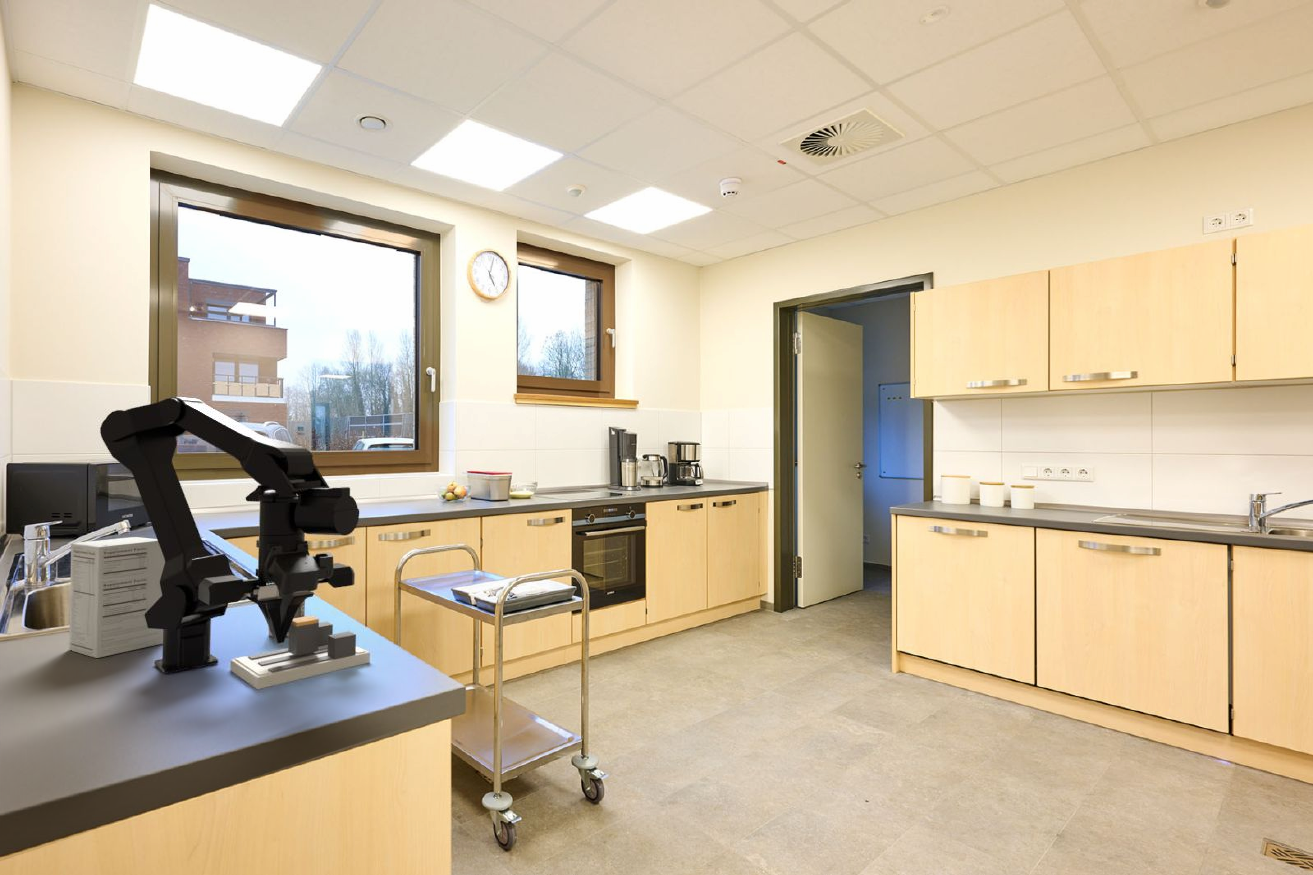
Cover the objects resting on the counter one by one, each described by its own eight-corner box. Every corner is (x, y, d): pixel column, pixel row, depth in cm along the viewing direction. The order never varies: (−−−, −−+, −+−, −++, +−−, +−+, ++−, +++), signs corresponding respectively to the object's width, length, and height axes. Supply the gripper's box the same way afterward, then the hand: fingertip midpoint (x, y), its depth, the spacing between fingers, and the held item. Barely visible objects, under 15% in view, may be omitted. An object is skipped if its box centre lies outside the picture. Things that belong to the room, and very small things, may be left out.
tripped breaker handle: (288, 651, 95) (289, 619, 95) (309, 647, 98) (310, 615, 98) (296, 656, 93) (296, 623, 93) (318, 651, 96) (318, 619, 96)
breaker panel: (230, 670, 93) (231, 638, 93) (337, 647, 105) (338, 619, 105) (257, 689, 86) (258, 654, 86) (369, 662, 97) (370, 632, 97)
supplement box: (166, 643, 105) (168, 539, 106) (96, 659, 97) (99, 546, 98) (135, 635, 110) (138, 535, 110) (66, 650, 102) (69, 541, 102)
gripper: (223, 545, 81) (220, 672, 81) (372, 533, 95) (369, 640, 95) (198, 537, 88) (195, 652, 88) (339, 526, 102) (337, 626, 102)
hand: (279, 642), depth 93 cm, fingers closed
